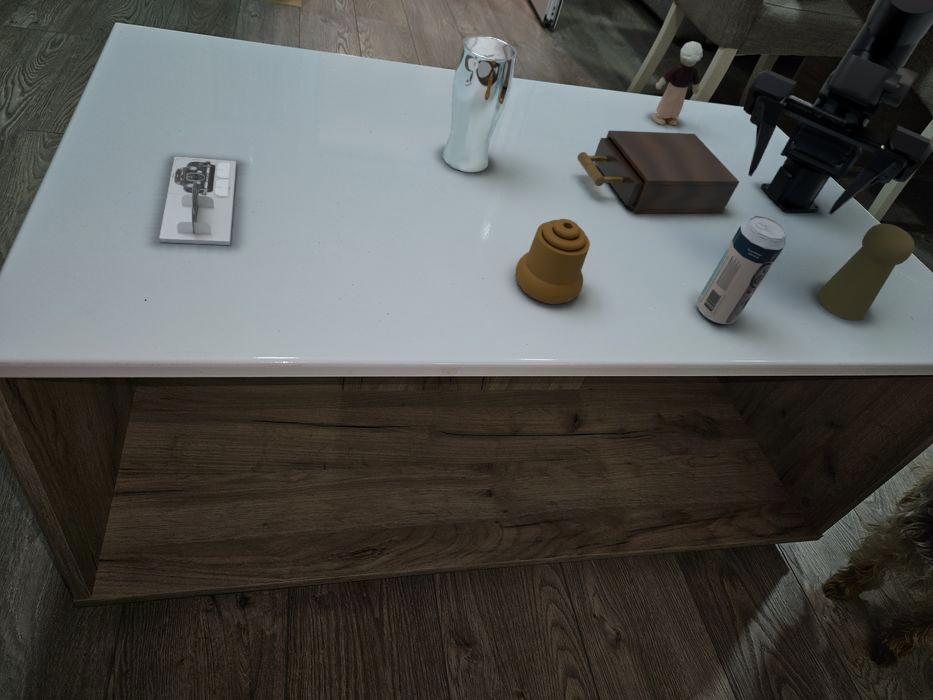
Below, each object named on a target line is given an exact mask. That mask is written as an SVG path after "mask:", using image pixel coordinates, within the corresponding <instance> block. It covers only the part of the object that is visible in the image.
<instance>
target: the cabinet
mask: <svg viewBox="0 0 933 700" xmlns="http://www.w3.org/2000/svg"><path fill="white" fill-rule="evenodd" d="M605 138H609V139H610V141H611V142H612V143H613V145H614V146H615V144H616V146H617V147H618V148H619V150H620V151H621V152H622V153H623V155H624V156H625V157H626V158H627V160H628V161H629V162H630V164H631V165H632V166H633V167H634V169H635V170H636V171H637V172H638V174H639V175H640V176H641V178H642V179H643V180H644V181H645V184H644V186H643V188H642V190H641V193H640V195H639V197H638V198H637V201H636V203H635V205H634V206H628V207H629V208H630V210H631V211H632V212H633V214H717V213H718V214H721V213H723V212H724V211H725V209H726V207H727V205H728V203H730V200H731V198H732V196H733V194H734V192H735V191H736V189H737V187H738V185H739V184H740V181H739V180H738V178H736V176H735V174H733V173H732V172H731V171H730V170H729V169H728V168H727V166H725V165H724V163H723V162H722V161H721V160H720V159H719V158H718V157H717V156H716V155H715V154H714V153H713V152H712V151H711V150H710V148H708V147H707V146H706V144H705V143H704V142H703V141H702V140H701V139H700V138H699V137H698V136H697V135H696V134H695V133H685V132H659V131H658V132H657V131H633V130H610V129H609V130H608V132H607V134H606V137H605Z"/></svg>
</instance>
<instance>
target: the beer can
mask: <svg viewBox="0 0 933 700" xmlns="http://www.w3.org/2000/svg"><path fill="white" fill-rule="evenodd" d="M787 236H788V235H787V232H786V228H785V227H784V226H783V225H781V224H780V223H779V222H778V221H777V220H774V219H772V218H770V217H768V216H764V215H753V216H752V217H750V218H748V220H745V221H744V222H742V223H741V224H740V226H739V227H738V229H737V231H736V233H735V234H734V236H733V237H732V240H731V241H730V243H729V245H728V246H727V248H726V250H725V251H724V253H723V255H722V256H721V258H720V260H719V261H718V264H717V265H716V266H715V269H714V270H713V272H712V274H711V276H710V277H709V279H708V281H707V282H706V284H705V286H704V287H703V288H702V291H701V293H700V294H699V296H698V298H697V300H696V307H697V309H698V311H699V312H700V313H701V314H702V315H703V317H705V318H706V319H707V320H709V321H711V322H713V323H717V324H719V325H721V324H722V325H730V324H731V325H732V324H734V323H735V322H736V321H737V320H738V319H739V317H740V315H741V313H742V312H743V311H744V310H745V307H747V304H748V303H749V302H750V300H751V298H752V297H753V295H754V294H755V292H756V291H757V289H758V288H759V286H760V285H761V283H762V282H763V279H764V278H765V277H766V276H767V274H768V272H769V271H770V270H771V268H772V267H773V265H774V263H775V262H776V260H777V259H778V257H779V256H780V254H781V252H782V251H783V249H784V248H785V246H786V244H787Z"/></svg>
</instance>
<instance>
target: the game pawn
mask: <svg viewBox="0 0 933 700" xmlns="http://www.w3.org/2000/svg"><path fill="white" fill-rule="evenodd" d="M914 250H915V240H914V239H913V237H912V235H910V233H908V232H907V231H906V230H905V229H903V228H901V227H899V226H897V225H894V224H890V223H878V224H875V225H873V226H872V227H870V228H869V229H868V230H867V231H866V232H865V234H864V235H863V238H862V240H861V247H860V248H859V249H858V250H857V251H856V252H855V253H854V254H853V255H852V256H851V258H849V259H848V260H847V261H846V262H845V263H844V264H843V265H842V266H841V268H839V269H838V270H837V271H836V272H835V273H834V274H833V275H832V276H831V278H829V280H827V281H826V282H825V283H824V284H823V285H822V287H820V289H818V291H816V292H817V297H816V298H817V299H818V301H819V303H820V304H821V306H822V307H823V308H825V309H826V310H827V311H828V312H829V313H831V314H833V315H834V316H836V317H838V318H840V319H843V320H846V321H850V322H859V321H862V320H863V319H864V318H865V316H866V315H867V313H868V312H869V310H870V308H871V307H872V305H873V303H874V302H875V300H876V298H877V297H878V295H879V293H880V292H881V290H882V289H883V287H884V285H885V284H886V283H887V280H888V279H889V277H890V275H891V274H892V273H893V270H894V269H895V267H896V266H897V265H901V264H903V263H905V262H906V261H907V260H908V259H909V258H910V257H911V256H912V254H913V252H914Z"/></svg>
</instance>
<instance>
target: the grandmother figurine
mask: <svg viewBox="0 0 933 700" xmlns="http://www.w3.org/2000/svg"><path fill="white" fill-rule="evenodd" d="M703 51H704V50H703V48H702V44H701V43H699V42H697V41H693V40H692V41H688V42H686V43H684V45H683V46H682V48H680V54H679V56H680V63H681V65H675V66H673V67H671V68H669V69H668V70H667V71H666V72H665V73H664V74H663V75H662V76H661V78H660V79H659V81H658V82H656V83H655V89H657V90H661V89H662V88H663V86H664V85H666V84H667V83H668V84H667V86H666V89H665V91H664V93H663V95H662V97H661V99H660V101H659V103H657V106H656V109H655V111H656V113H653V115H652V116H651V119H652V120H653V121H654V122H655V123H657V124H658V125H661V126H665V125H666V124H669V125H671V126H677V125H678V120H677V119H678V118H679V117H680V114H681V111H682V109H683V106H684V102H685V99H686V96H687V92H688V88H689V86H690V84H691V85H692V86H691V87H692V93H693V94H694V95H697V94H699V92H700V88H699V87H700V82H701V81H700V75H699V72H698V70H697V68H696V67H693V66H695V65H696V64H697V62H700V61H701V59H702V58H703Z"/></svg>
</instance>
